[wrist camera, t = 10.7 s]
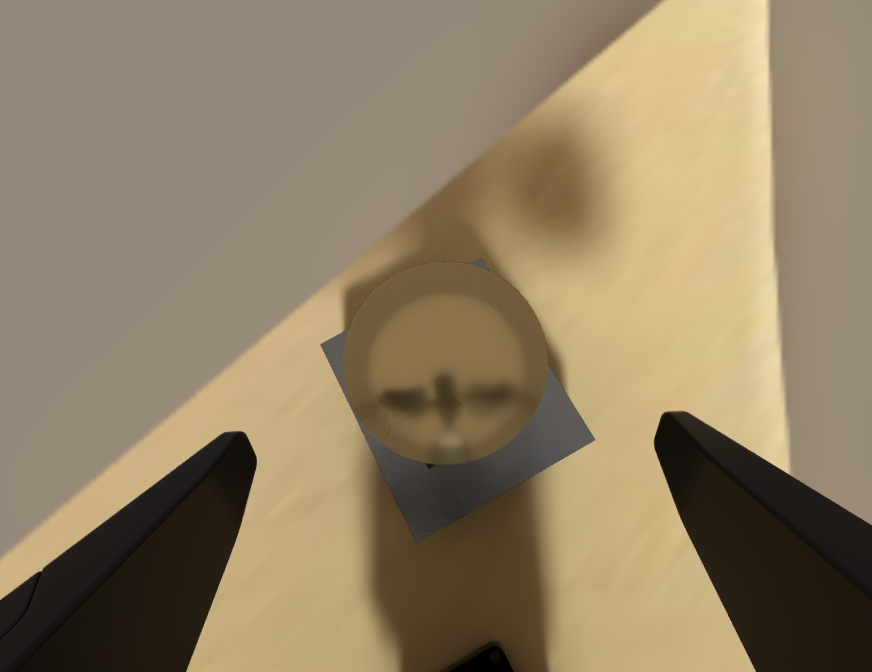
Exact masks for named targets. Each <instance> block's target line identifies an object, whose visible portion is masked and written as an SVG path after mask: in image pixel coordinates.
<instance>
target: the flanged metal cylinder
mask: <svg viewBox="0 0 872 672" xmlns="http://www.w3.org/2000/svg"><path fill="white" fill-rule="evenodd" d="M547 368H548V356H547V346H546V342H545V337H544V333H543V331H542V328H541V325H540V322H539V320H538V318H537V316H536V315H535V313H534V311H533V309H532V308H531V306H530V305H529V303H528V302H527V301H526V299H525V298H524V297H523V296H522V295H521V294H520V293H519V292H518V290H516V289H515V288H514V287H513V286H512V285H511V284H509V283H508V282H507V281H505V280H504V279H502V278H501V277H499V276H498V275H496V274H494V273H492V272H490V271H488V270H486V269H483V268H480V267H477V266H475V265H470V264H466V263H461V262H450V261H444V262H431V263H425V264H421V265H417V266H413V267H410V268H408V269H406V270H403V271H401V272H399V273H397V274H395V275H393V276H392V277H390V278H388V279H387V280H386V281H384V282H383V283H382V284H380V285H379V286H378V287H377V288H376V289H375V290H374V291H372V292H371V293H370V294H369V295H368V297H367V298H366V299H365V300H364V302H363V303H362V304H361V306H360V307H359V309H358V310H357V312H356V314H355V315H354V317H353V319H352V322H351V324H350V326H349V328H348V332H347V335H346V338H345V342H344V348H343V357H342V370H343V380H344V384H345V389H346V393H347V395H348V398H349V401H350V404H351V406H352V408H353V410H354V411H355V413H356V415H357V417H358V418H359V420H360V421H361V423H362V424H363V425H364V427H365V428H366V429H367V430H368V431H369V432H370V433H371V434H372V435H373V436H374V437H375V438H376V439H377V440H378V441H380V442H381V443H382V444H383V445H384V446H386V447H388V448H389V449H391V450H392V451H394V452H396V453H398V454H400V455H402V456H405V457H407V458H409V459H412V460H416V461H420V462H423V463H430V464H438V465H441V464H459V463H466V462H469V461H473V460H476V459H480V458H482V457H484V456H487V455H489V454H491V453H493V452H495V451H497V450H498V449H500V448H501V447H503V446H505V445H506V444H507V443H508V442H510V441H511V440H512V439H513V438H515V437H516V436H517V435H518V434H519V432H520V431H521V430H522V429H523V428H524V427H525V426H526V425H527V423H528V422H529V420H530V419H531V417H532V416H533V414H534V413H535V411H536V409H537V407H538V405H539V403H540V400H541V397H542V394H543V391H544V388H545V383H546V378H547Z"/></svg>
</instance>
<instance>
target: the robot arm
mask: <svg viewBox="0 0 872 672" xmlns="http://www.w3.org/2000/svg"><path fill="white" fill-rule="evenodd" d="M654 447H655V451H656V454H657V456H658V459H659V462H660V465H661V467H662V470H663V473H664V475H665V478H666V481H667V484H668V486H669V489H670V492H671V494H672V497H673V500H674V503H675V505H676V508H677V510H678V513H679V515H680V518H681V520H682V522H683V525H684V527H685V529H686V531H687V533H688V535H689V537H690V539H691V541H692V543H693V545H694V547H695V549H696V551H697V553H698V555H699V557H700V559H701V561H702V563H703V565H704V567H705V569H706V571H707V573H708V576H709V578H710V580H711V582H712V584H713V586H714V588H715V590H716V592H717V594H718V596H719V598H720V600H721V602H722V604H723V606H724V608H725V610H726V612H727V614H728V616H729V618H730V620H731V622H732V624H733V626H734V628H735V630H736V632H737V634H738V636H739V638H740V640H741V642H742V644H743V646H744V648H745V650H746V652H747V654H748V656H749V658H750V661H751V663H752V665H753V667H754V669H755V671H756V672H872V525H870V524H869V523H867V522H865V521H864V520H862V519H861V518H859V517H857V516H856V515H854V514H852V513H851V512H849V511H848V510H846V509H844V508H843V507H841V506H839V505H838V504H836V503H835V502H833V501H831V500H830V499H828V498H826V497H825V496H823V495H822V494H820V493H818V492H817V491H815V490H813V489H812V488H810V487H808V486H807V485H805V484H804V483H802V482H800V481H799V480H797V479H795V478H794V477H792V476H791V475H789V474H787V473H786V472H784V471H782V470H781V469H779V468H778V467H776V466H774V465H773V464H771V463H769V462H768V461H766V460H765V459H763V458H761V457H760V456H758V455H756V454H755V453H753V452H752V451H750V450H748V449H747V448H745V447H743V446H742V445H740V444H739V443H737V442H735V441H734V440H732V439H730V438H729V437H727V436H726V435H724V434H722V433H721V432H719V431H717V430H716V429H714V428H713V427H711V426H709V425H708V424H706V423H704V422H703V421H701V420H699V419H698V418H696V417H695V416H693V415H691V414H690V413H688V412H685V411H668V412H664V413H663V414H662V416H661V419H660V422H659V425H658V428H657V432H656V435H655V438H654ZM256 466H257V458H256V455H255V452H254V450H253V448H252V446H251V444H250V441H249V439H248V437H247V435H246V434H245V433H244V432H242V431H233V432H224V433H222V434H221V435H219V436H218V437H217V438H215V439H214V440H213V441H211V442H210V443H209V444H207V445H206V446H205V447H203V448H202V449H201V450H199V451H198V452H197V453H195V454H194V455H193V456H191V457H190V458H189V459H187V460H186V461H185V462H183V463H182V464H181V465H179V466H178V467H177V468H176V469H174V470H173V471H172V472H170V473H169V474H168V475H166V476H165V477H164V478H162V479H161V480H160V481H158V482H157V483H156V484H154V485H153V486H152V487H150V488H149V489H148V490H146V491H145V492H144V493H142V494H141V495H140V496H138V497H137V498H136V499H134V500H133V501H132V502H130V503H129V504H128V505H126V506H125V507H124V508H122V509H121V510H120V511H118V512H117V513H116V514H114V515H113V516H112V517H110V518H109V519H108V520H106V521H105V522H104V523H102V524H101V525H100V526H98V527H97V528H96V529H94V530H93V531H92V532H90V533H89V534H88V535H86V536H85V537H84V538H82V539H81V540H80V541H78V542H77V543H76V544H74V545H73V546H72V547H70V548H69V549H68V550H66V551H65V552H64V553H62V554H61V555H60V556H58V557H57V558H56V559H54V560H53V561H52V562H50V563H49V564H48V565H46V566H45V567H44V568H43V570H42V571H39V572H37V573H36V574H34V575H33V576H32V577H30V578H29V579H28V580H26V581H25V582H24V583H22V584H21V585H20V586H18V587H17V588H16V589H14V590H13V591H12V592H10V593H9V594H8V595H6V596H5V597H4V598H2V599H1V600H0V672H186V671H187V668H188V665H189V663H190V660H191V657H192V655H193V652H194V650H195V647H196V644H197V642H198V639H199V636H200V634H201V631H202V629H203V626H204V623H205V621H206V618H207V615H208V613H209V610H210V607H211V605H212V602H213V600H214V597H215V594H216V592H217V589H218V586H219V584H220V581H221V579H222V576H223V573H224V571H225V568H226V565H227V563H228V560H229V558H230V555H231V552H232V550H233V547H234V544H235V541H236V539H237V536H238V533H239V529H240V526H241V523H242V519H243V515H244V512H245V508H246V504H247V500H248V497H249V493H250V489H251V485H252V482H253V478H254V474H255V470H256ZM492 652H497V653H498V654H499V657H498V658H497V659H495V660H494V659H492V658H491V657H490V654H491V653H492ZM441 672H515V670H514V668H513V666H512V664H511V662H510V660H509V658H508V656H507V654H506V652H505V650H504V648H503V647H502V646H501V644H499V643H498V642H490V643H488V644H486V645H485V646H483V647H481V648H480V649H478V650H476V651H475V652H473V653H471V654H470V655H468V656H466V657H465V658H463V659H461V660H460V661H458V662H456V663H455V664H453V665H451V666H450V667H448V668H446V669H445V670H443V671H441Z"/></svg>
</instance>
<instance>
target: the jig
mask: <svg viewBox="0 0 872 672" xmlns="http://www.w3.org/2000/svg"><path fill="white" fill-rule="evenodd" d="M470 265H475V266H477V267H480V268H483V269H486V270H488V271H489V269H488V267H487V266H486V264H485V263H484V261H483V259H482V258H480V259H478V260H476V261H475V262H473V263H471V264H470ZM347 332H348V330H346V331H344V332H342V333H340V334H338V335H337V336H335V337H333V338H331V339H329V340H327V341H325V342H324V343H322V344H320V345H321V347H322V349H323V351H324V353H325V355H326V357H327V359H328V361H329V363H330V366H331V368H332V370H333V372H334V374H335V376H336V378H337V380H338V382H339V384H340V386H341V388H342V390H343V393H344V395H345V397H346V399H347V401H348V403H349V405H350V407H351V409H352V411H353V413H354V415H355V417H356V419H357V422H358V424H359V426H360V428H361V430H362V432H363V434H364V436H365V438H366V440H367V442H368V444H369V446H370V448H371V451H372V453H373V455H374V457H375V459H376V461H377V463H378V465H379V467H380V469H381V471H382V473H383V475H384V477H385V480H386V482H387V484H388V486H389V488H390V490H391V492H392V494H393V496H394V498H395V500H396V502H397V504H398V506H399V509H400V511H401V513H402V515H403V517H404V519H405V521H406V523H407V525H408V527H409V529H410V531H411V533H412V536H413V538H414V540H415V542H416V543H418V542H420V541H421V540H423V539H425V538H426V537H428V536H430V535H432V534H433V533H435V532H437V531H439V530H440V529H442V528H444V527H446V526H447V525H449V524H451V523H452V522H454V521H456V520H458V519H459V518H461V517H463V516H465V515H466V514H468V513H470V512H472V511H473V510H475V509H477V508H478V507H480V506H482V505H484V504H485V503H487V502H489V501H491V500H492V499H494V498H496V497H497V496H499V495H501V494H503V493H504V492H506V491H508V490H510V489H511V488H513V487H515V486H517V485H518V484H520V483H522V482H523V481H525V480H527V479H529V478H530V477H532V476H534V475H536V474H537V473H539V472H541V471H542V470H544V469H546V468H548V467H549V466H551V465H553V464H555V463H556V462H558V461H560V460H562V459H563V458H565V457H567V456H568V455H570V454H572V453H574V452H575V451H577V450H579V449H581V448H582V447H584V446H586V445H588V444H589V443H591V442H593V441H594V440H595V438H594V437H593V435H592V434H591V432H590V430H589V429H588V427H587V426H586V424H585V422H584V421H583V419H582V418H581V416H580V414H579V413H578V411H577V410H576V408H575V406H574V405H573V403H572V402H571V400H570V398H569V397H568V395H567V394H566V392H565V390H564V389H563V387H562V386H561V384H560V382H559V381H558V379H557V378H556V376H555V375H554V373H553V371H552V370H551V368H550V367H549V365H548V368H547V378H546V383H545V388H544V391H543V394H542V397H541V400H540V403H539V405H538V407H537V409H536V411H535V413H534V414H533V416H532V417H531V419H530V420H529V422H528V423H527V425H526V426H525V427H524V428H523V429H522V430H521V431H520V432H519V434H518V435H517V436H516V437H515V438H513V439H512V440H511V441H510V442H508V443H507V444H506V445H505V446H503V447H501V448H500V449H498V450H497V451H495V452H493V453H491V454H489V455H487V456H484V457H482V458H480V459H476V460H473V461H469V462H466V463H459V464H441V465H438V464H430V463H423V462H420V461H416V460H412V459H409V458H407V457H405V456H402V455H400V454H398V453H396V452H394V451H392V450H391V449H389V448H388V447H386V446H384V445H383V444H382V443H381V442H380V441H378V440H377V439H376V438H375V437H374V436H373V435H372V434H371V433H370V432H369V431H368V430H367V429H366V428H365V427H364V425H363V424H362V423H361V421H360V420H359V418H358V417H357V415H356V413H355V411H354V410H353V408H352V406H351V404H350V401H349V398H348V395H347V393H346V389H345V384H344V380H343V370H342V357H343V348H344V342H345V338H346V335H347Z"/></svg>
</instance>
